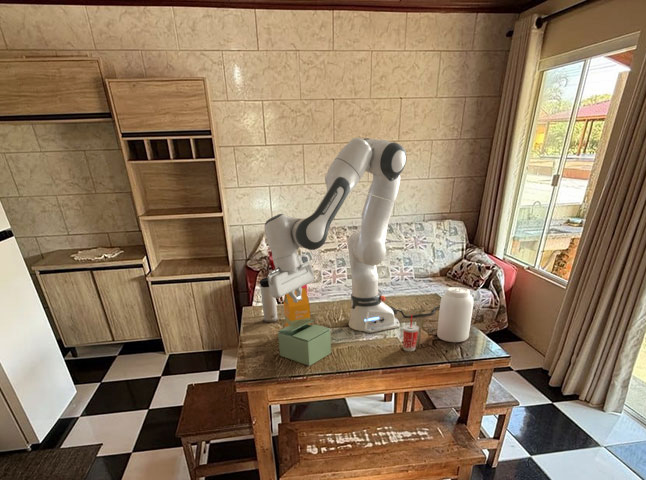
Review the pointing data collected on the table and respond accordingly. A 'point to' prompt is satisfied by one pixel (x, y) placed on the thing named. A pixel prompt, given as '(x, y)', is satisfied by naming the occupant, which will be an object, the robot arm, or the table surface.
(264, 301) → the travel mug
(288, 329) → the flap
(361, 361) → the table surface
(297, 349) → the storage box
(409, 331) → the beverage cup
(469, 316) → the white upright cylinder
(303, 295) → the orange juice
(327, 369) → the table surface
